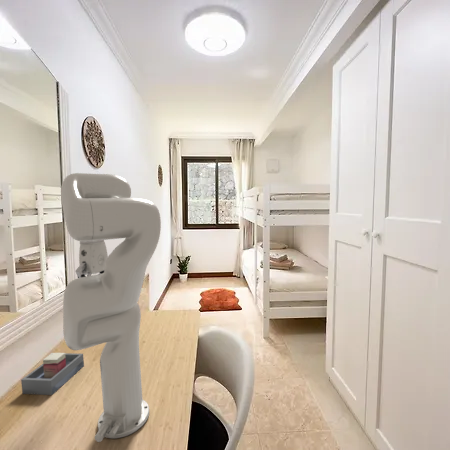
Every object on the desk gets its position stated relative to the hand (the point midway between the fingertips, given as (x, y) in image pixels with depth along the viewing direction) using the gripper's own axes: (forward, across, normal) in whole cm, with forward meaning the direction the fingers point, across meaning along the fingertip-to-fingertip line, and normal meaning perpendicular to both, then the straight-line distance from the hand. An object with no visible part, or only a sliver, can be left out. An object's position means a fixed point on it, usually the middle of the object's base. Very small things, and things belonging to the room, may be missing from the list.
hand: (95, 288), depth 92 cm
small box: (+28, -7, +12) cm, 32 cm away
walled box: (+28, -7, +12) cm, 32 cm away
